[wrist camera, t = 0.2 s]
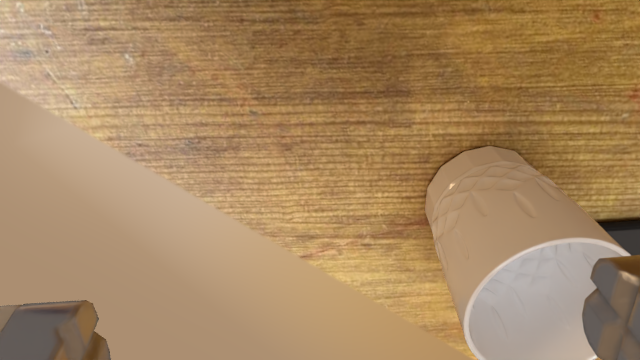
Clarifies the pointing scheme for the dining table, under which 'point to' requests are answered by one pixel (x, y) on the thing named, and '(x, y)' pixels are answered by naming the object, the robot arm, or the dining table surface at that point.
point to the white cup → (515, 256)
